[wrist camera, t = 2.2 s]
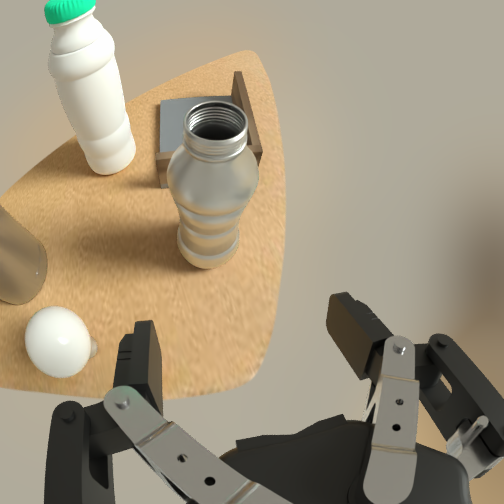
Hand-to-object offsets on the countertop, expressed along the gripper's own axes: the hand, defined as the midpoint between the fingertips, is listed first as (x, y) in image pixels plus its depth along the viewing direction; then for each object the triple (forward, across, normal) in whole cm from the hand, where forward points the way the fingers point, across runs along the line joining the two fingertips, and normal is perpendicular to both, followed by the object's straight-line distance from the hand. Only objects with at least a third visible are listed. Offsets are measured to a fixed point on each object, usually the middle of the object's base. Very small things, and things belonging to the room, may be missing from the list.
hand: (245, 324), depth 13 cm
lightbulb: (+14, +15, +13) cm, 25 cm away
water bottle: (+32, +12, -5) cm, 35 cm away
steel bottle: (+22, 0, +6) cm, 22 cm away
